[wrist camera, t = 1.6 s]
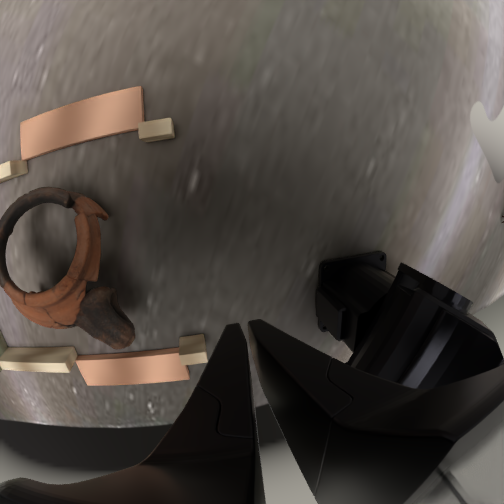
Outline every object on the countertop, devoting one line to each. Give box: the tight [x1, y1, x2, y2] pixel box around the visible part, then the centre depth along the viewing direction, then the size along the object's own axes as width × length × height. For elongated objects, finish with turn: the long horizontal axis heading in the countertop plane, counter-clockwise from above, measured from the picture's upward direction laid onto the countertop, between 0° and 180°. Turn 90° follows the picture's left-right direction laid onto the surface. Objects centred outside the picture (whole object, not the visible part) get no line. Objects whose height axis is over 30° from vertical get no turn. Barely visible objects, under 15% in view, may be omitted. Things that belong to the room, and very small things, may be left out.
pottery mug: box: [0, 187, 135, 349], centre depth 16 cm, size 12×10×8 cm
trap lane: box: [0, 86, 208, 386], centre depth 16 cm, size 22×23×4 cm
